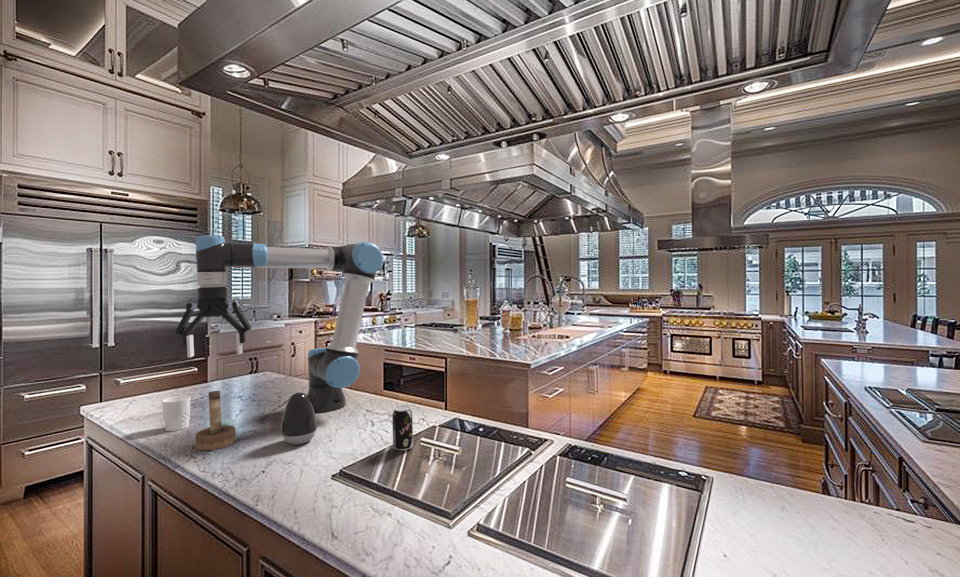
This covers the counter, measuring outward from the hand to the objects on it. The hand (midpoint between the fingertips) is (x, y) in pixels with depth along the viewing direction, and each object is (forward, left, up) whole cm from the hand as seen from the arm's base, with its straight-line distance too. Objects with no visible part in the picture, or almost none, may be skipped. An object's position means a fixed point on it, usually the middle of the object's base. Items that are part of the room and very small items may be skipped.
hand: (215, 355), depth 132 cm
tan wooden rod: (0, +2, -27) cm, 27 cm away
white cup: (+19, -17, -27) cm, 37 cm away
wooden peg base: (0, +2, -27) cm, 27 cm away
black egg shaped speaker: (-25, +6, -27) cm, 37 cm away
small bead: (+2, -9, -27) cm, 29 cm away
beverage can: (-56, +19, -27) cm, 65 cm away
